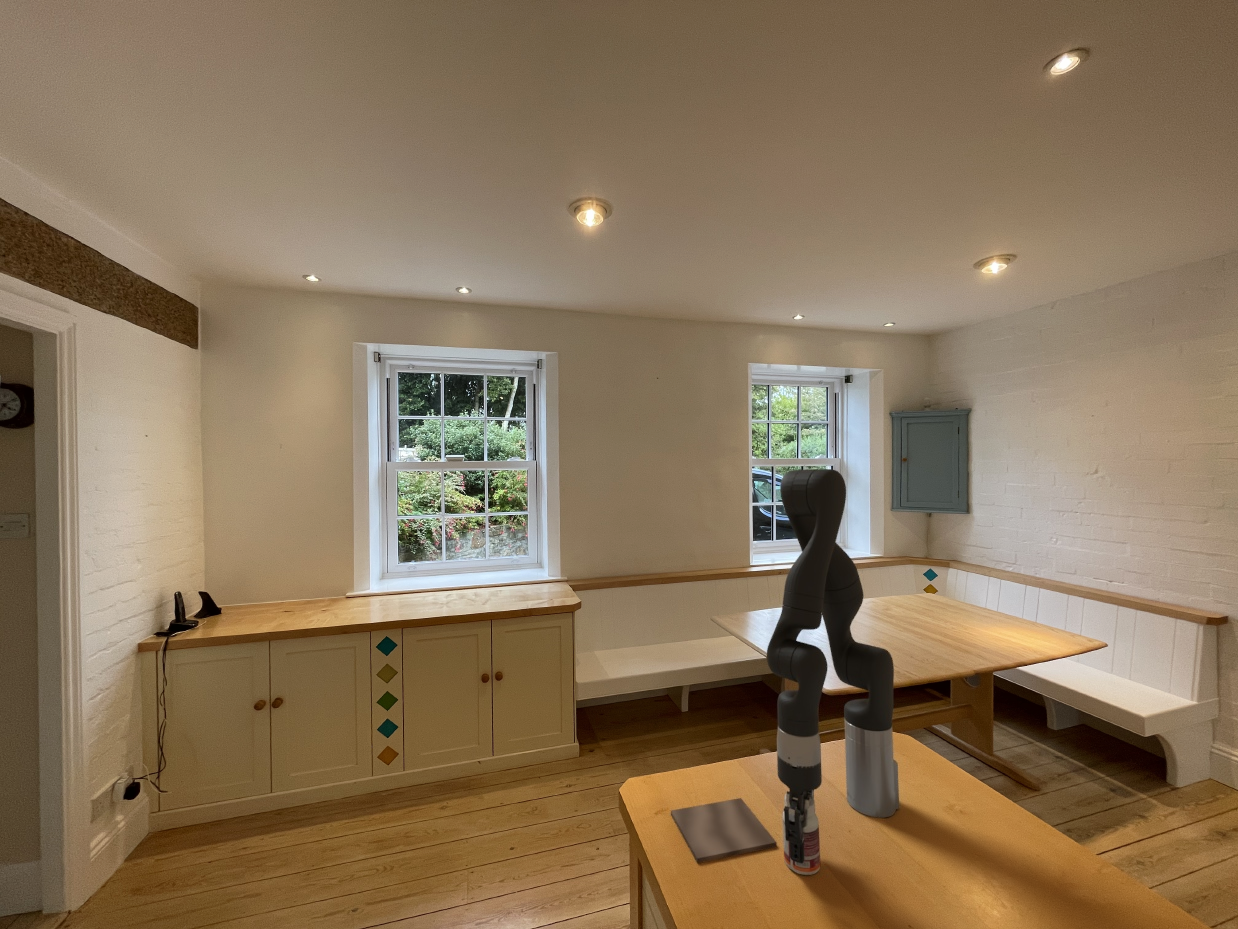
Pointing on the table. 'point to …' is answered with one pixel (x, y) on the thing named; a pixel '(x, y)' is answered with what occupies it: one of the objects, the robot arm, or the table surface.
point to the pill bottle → (805, 845)
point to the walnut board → (721, 830)
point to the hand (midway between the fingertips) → (801, 848)
